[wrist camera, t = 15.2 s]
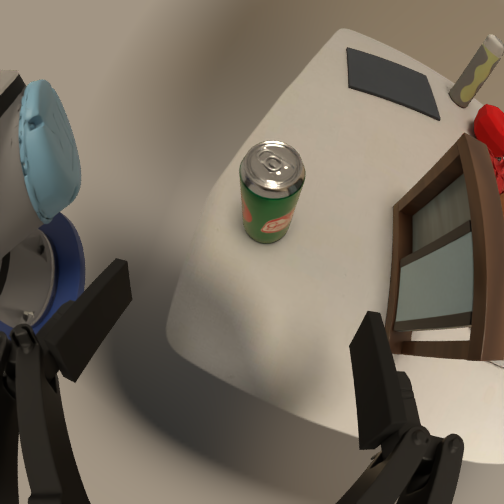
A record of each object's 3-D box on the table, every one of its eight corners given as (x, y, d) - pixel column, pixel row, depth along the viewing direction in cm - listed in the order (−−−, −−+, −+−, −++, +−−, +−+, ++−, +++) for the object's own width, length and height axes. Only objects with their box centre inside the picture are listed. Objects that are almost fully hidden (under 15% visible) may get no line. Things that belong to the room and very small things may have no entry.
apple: (475, 116, 38) (497, 88, 29) (506, 154, 36) (532, 130, 26) (460, 129, 37) (486, 97, 27) (495, 173, 34) (526, 147, 25)
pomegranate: (444, 183, 33) (479, 151, 24) (460, 153, 35) (489, 123, 26) (483, 230, 31) (522, 207, 22) (496, 194, 33) (527, 170, 24)
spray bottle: (447, 88, 40) (485, 27, 21) (463, 98, 40) (503, 41, 20) (450, 101, 39) (493, 37, 20) (467, 112, 38) (512, 52, 19)
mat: (348, 87, 38) (349, 85, 37) (346, 49, 41) (347, 47, 41) (439, 121, 37) (440, 119, 36) (425, 77, 40) (426, 75, 40)
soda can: (265, 254, 30) (273, 207, 19) (233, 222, 31) (224, 161, 20) (297, 224, 31) (321, 166, 20) (266, 194, 32) (273, 126, 21)
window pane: (393, 330, 26) (469, 325, 14) (400, 259, 28) (469, 219, 16) (400, 331, 26) (478, 326, 14) (407, 260, 28) (477, 222, 16)
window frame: (380, 352, 27) (480, 361, 12) (393, 206, 32) (464, 132, 16) (402, 354, 27) (503, 360, 12) (412, 211, 32) (486, 144, 16)
